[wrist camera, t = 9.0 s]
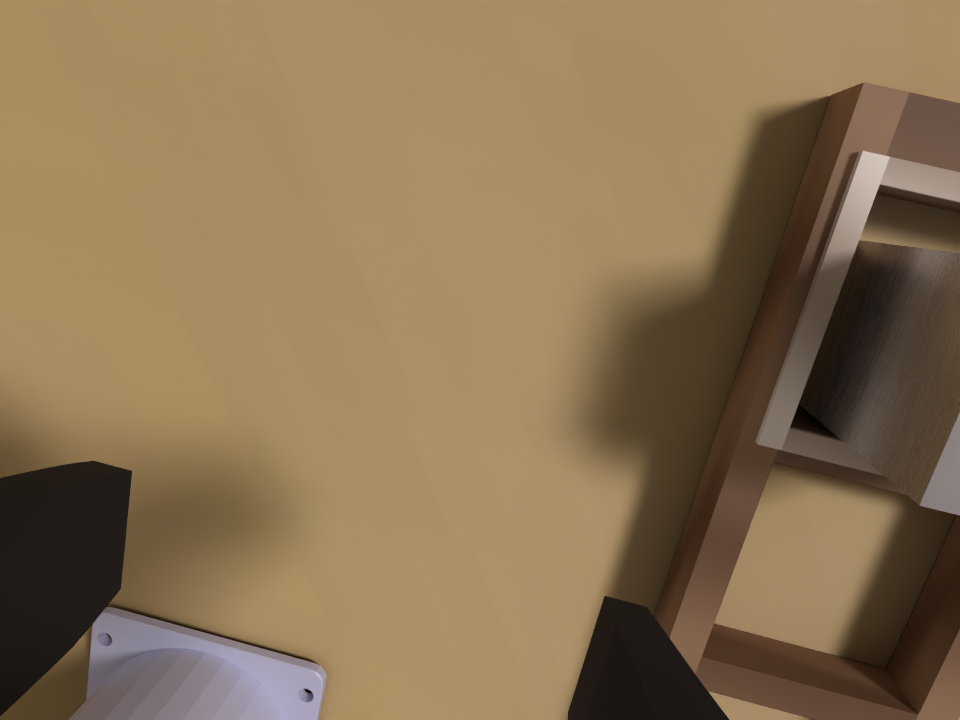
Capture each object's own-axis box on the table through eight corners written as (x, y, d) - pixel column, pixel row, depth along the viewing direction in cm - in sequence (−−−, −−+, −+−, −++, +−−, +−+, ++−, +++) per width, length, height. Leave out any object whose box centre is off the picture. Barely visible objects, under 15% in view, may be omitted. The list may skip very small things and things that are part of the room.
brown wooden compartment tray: (814, 899, 22) (840, 967, 20) (580, 833, 22) (582, 892, 20) (1162, 167, 16) (1246, 163, 14) (831, 95, 16) (868, 80, 14)
